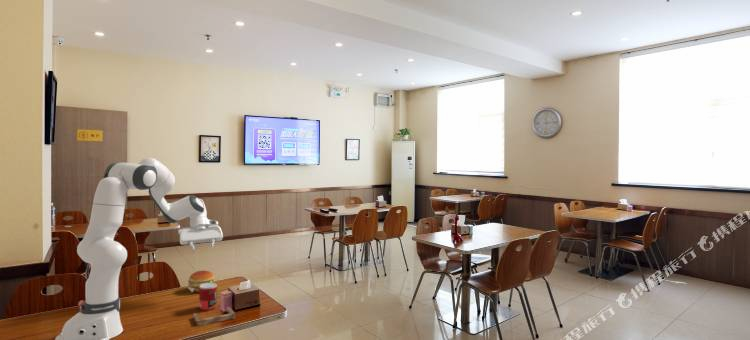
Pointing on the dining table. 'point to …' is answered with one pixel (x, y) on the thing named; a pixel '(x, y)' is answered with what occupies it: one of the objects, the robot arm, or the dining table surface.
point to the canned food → (208, 296)
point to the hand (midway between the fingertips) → (203, 249)
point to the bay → (214, 319)
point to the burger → (199, 280)
